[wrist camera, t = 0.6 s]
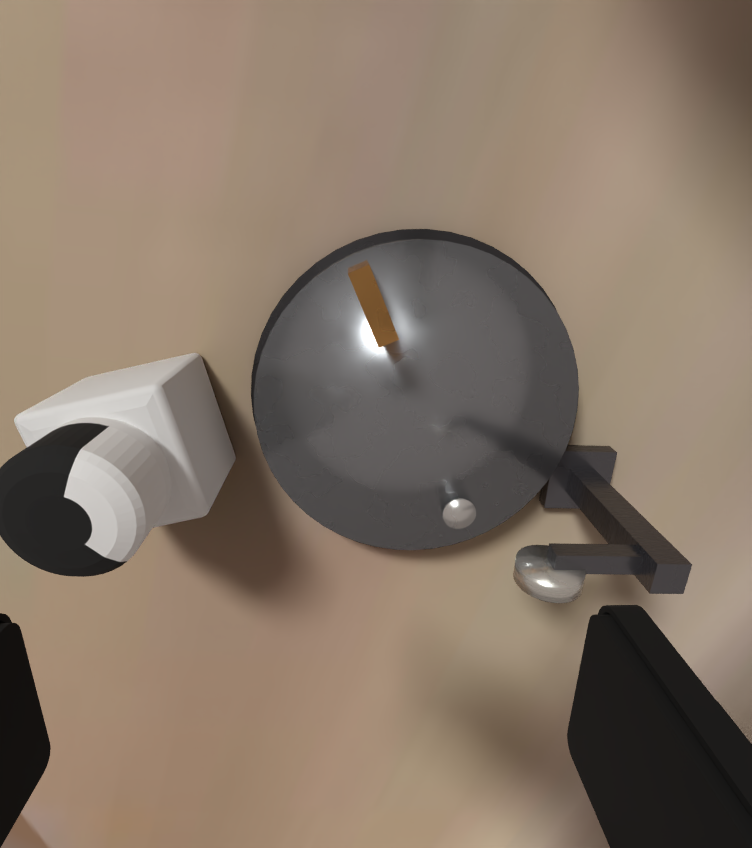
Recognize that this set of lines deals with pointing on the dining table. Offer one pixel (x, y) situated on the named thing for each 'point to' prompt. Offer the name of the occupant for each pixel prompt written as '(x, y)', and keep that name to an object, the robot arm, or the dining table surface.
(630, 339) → the dining table surface
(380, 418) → the disc
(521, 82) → the dining table surface
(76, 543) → the medicine bottle
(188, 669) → the dining table surface
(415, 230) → the base
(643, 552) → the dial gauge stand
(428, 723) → the dining table surface
